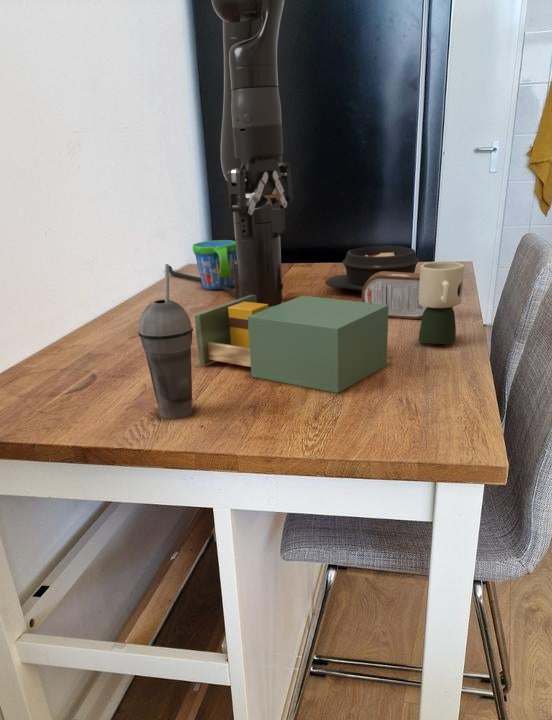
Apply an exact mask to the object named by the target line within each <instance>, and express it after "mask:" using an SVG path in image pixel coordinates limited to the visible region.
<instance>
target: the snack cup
mask: <svg viewBox="0 0 552 720" xmlns="http://www.w3.org/2000/svg"><path fill="white" fill-rule="evenodd" d="M192 252H193V254H194V256H195V260H196V264H197V269H198V272H199V276H200V278H201V281H202V282H201V284H202V287H203V288H204V289H207V290H208V291H209V290H210V291H212V290H214V291H215V290H216V291H218V290H223V289H222V286H223V285H225V286H227V287H229V288H233V287H234V286H235V283H234V269H233V262H234V261H236V260H237V257H236V242H235V240H230V239H219V240H217V239H216V240H215V239H214V240H206V241H200V242H196V243H193V245H192Z"/></svg>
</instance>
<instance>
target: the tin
mask: <svg viewBox="0 0 552 720" xmlns="http://www.w3.org/2000/svg"><path fill="white" fill-rule="evenodd" d="M419 283H420V272H415V273H403V272H387V271H382V272H378V273H375V274H374V275H372V276H371V277H370V278H369V279H368V281H367V282H366V283H365V285H364V287H363V289H362V293H361V302H365V303H374V304H383V305H389V309H388V318H392V319H393V318H394V319H404V320H405V319H406V320H422V316H423V312H424V310H425V309H426V308H427V307H424V306H422V305H420V304H419Z"/></svg>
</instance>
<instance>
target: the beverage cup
mask: <svg viewBox="0 0 552 720" xmlns="http://www.w3.org/2000/svg"><path fill="white" fill-rule="evenodd" d="M169 266H170V264H169V263H165V264H164V298H163V299H156V300H154V301H152V302H150V303H149V304H148V305H147V306H146V307H145V308H144V309H143V310H142V312H141V314H140V317H139V321H138V332H137V333H138V337H140V342H141V345H142V347H143V350H144V353H145V357H146V361H147V365H148V370H149V375H150V378H151V381H152V382H151V384H152V388H153V391H154V396H155V400H156V404H157V407H158V411H159V415H160V417H161V418H163V419H164V418H165V419H170V420H175V419H181V418H185V417H187V416H190V415H191V414H192V413H193V409H192V407H193V378H192V377H193V375H192V345H193V331H194V327H193V326H192V321H191V319H190V318H191V317H190V316H189V315H188V312H187V311H186V309H185V308H184V307H183V306H182V305H180V304H179V303H178V302H176V301H174V300H171V299H170V272H169Z"/></svg>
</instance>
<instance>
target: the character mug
mask: <svg viewBox="0 0 552 720" xmlns="http://www.w3.org/2000/svg"><path fill="white" fill-rule="evenodd" d="M419 273H420V283H419V304H420V305H422V306H424V307H427V308H426V309H425V310H424V312H423V316H422V319H421V321H420V326H419V333H418V341H419V343H420V342H421V343H424V344H436V346H439V347H440V346H441V344H443V345H450V344H453V343H455V342H456V341H457V327H456V325H457V324H456V313H455V310H454V307H456V306H459V305H460V304H461V303H462V299H463V287H464V276H465V275H464V273H465V264H464V263H462V262H458V261H457V262H456V261H431V262H425V263H422V264H420V269H419Z"/></svg>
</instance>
